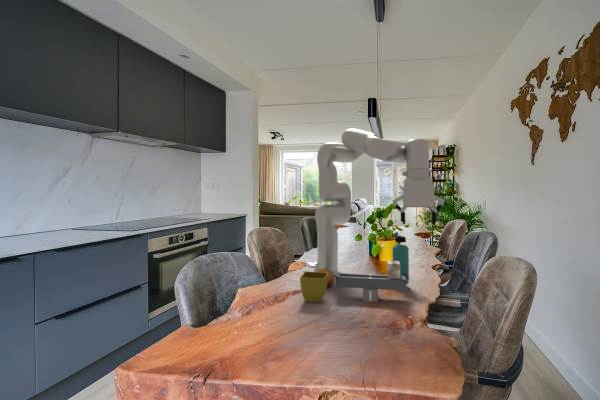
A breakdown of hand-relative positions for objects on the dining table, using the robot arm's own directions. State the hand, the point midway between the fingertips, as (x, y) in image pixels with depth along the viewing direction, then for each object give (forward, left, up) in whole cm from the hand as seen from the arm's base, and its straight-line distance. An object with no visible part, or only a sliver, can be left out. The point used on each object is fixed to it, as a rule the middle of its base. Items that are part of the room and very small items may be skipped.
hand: (418, 223), depth 121 cm
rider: (-8, -2, -21) cm, 22 cm away
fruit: (-34, +9, -27) cm, 45 cm away
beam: (-16, -2, -27) cm, 31 cm away
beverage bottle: (-4, +15, -27) cm, 31 cm away
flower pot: (-35, -9, -27) cm, 45 cm away
